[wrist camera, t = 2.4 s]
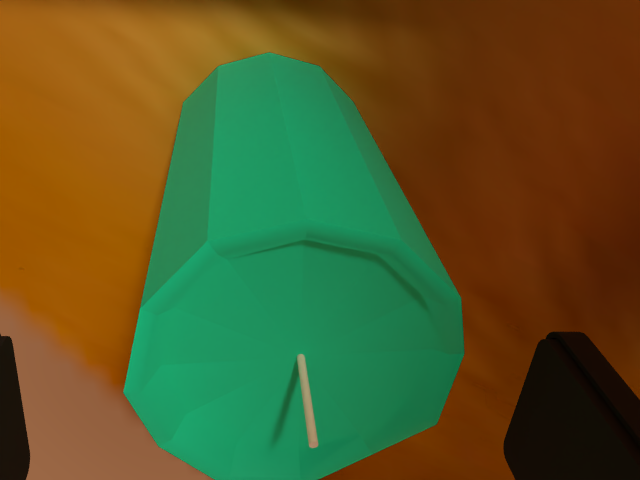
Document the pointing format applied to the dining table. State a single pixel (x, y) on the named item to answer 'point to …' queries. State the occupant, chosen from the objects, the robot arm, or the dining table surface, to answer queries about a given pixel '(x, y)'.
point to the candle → (287, 287)
